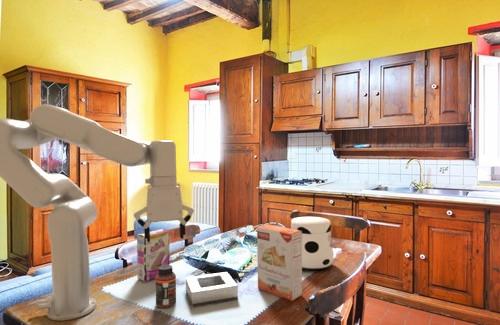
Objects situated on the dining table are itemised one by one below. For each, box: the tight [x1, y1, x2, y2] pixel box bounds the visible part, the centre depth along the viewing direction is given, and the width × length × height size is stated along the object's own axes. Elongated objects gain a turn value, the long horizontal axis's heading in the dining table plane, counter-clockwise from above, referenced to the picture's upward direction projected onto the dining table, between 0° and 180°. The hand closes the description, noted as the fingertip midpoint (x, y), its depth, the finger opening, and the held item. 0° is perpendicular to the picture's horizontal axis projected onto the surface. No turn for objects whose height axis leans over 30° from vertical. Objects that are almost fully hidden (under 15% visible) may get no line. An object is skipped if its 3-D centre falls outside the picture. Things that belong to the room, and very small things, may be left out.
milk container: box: [290, 216, 334, 271], centre depth 130 cm, size 17×17×18 cm
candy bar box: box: [136, 228, 170, 283], centre depth 120 cm, size 11×5×16 cm, turn 144°
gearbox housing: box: [185, 271, 239, 308], centre depth 104 cm, size 14×12×4 cm
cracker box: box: [256, 224, 303, 302], centre depth 105 cm, size 14×6×21 cm, turn 47°
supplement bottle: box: [155, 264, 177, 309], centre depth 98 cm, size 6×6×11 cm
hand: (165, 239), depth 98 cm, fingers open, 9 cm apart
